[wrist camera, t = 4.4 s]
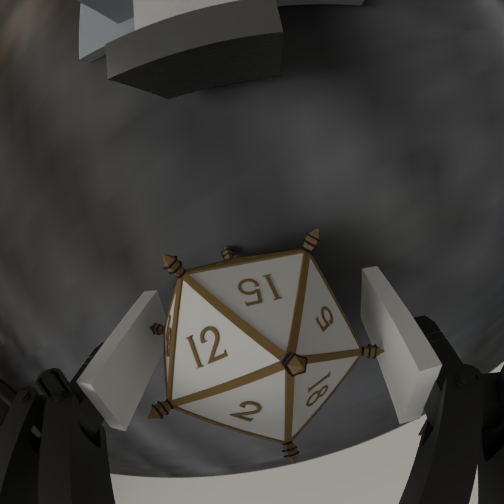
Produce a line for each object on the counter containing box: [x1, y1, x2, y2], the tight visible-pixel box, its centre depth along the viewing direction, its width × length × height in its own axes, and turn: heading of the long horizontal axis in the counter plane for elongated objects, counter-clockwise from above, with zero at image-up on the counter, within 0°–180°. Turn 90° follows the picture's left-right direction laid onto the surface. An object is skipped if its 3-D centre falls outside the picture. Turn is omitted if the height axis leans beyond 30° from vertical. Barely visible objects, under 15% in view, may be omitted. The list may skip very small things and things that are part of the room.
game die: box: [148, 227, 384, 463], centre depth 10 cm, size 9×8×10 cm
